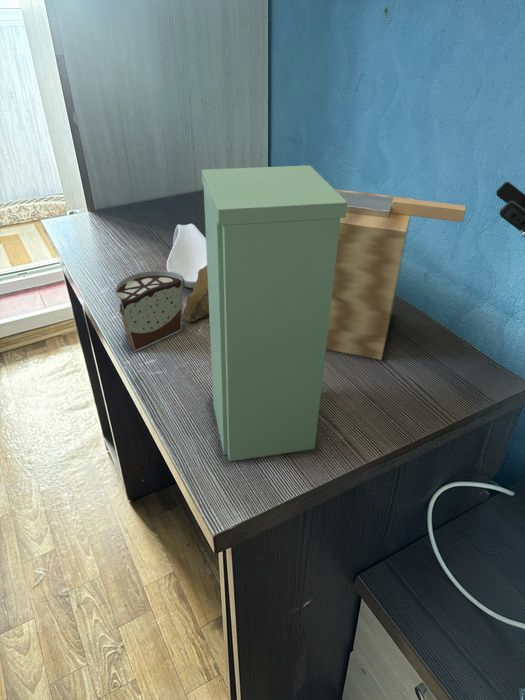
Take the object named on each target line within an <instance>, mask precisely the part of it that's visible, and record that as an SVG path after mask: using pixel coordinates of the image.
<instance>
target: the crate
mask: <svg viewBox="0 0 525 700" xmlns="http://www.w3.org/2000/svg"><path fill="white" fill-rule="evenodd" d="M334 189H335V190H336V191H341V192H349V193H357V194H365V195H374V196H382V197H390V198H394V197H398V198H406V199H414V198H412V197H406V196H405V197H404V196H397V195H387V194H380V193H379V194H378V193H371V192H362V191H356V190H355V191H354V190H345V189H338V188H334ZM411 217H412V216H409V215H401V214H393V213H390V216H389V218H385V217H378V216H370V215H362V214H355V213H347V212H346V218H341V220H340V229H339V238H338V247H337V255H336V264H335V273H334V282H333V291H332V300H331V308H330V317H329V326H328V335H327V344H326V350H329V351H333V352H339V353H342V354H343V353H344V354H349V355H353V356H359V357H364V358H368V359H369V358H370V359H374V360H380V361H382V360H383V357H384V356H383V355H384V351H385V347H386V342H387V337H388V333H389V329H390V324H391V320H392V316H393V311H394V310H393V309H394V305H395V299H396V293H397V290H398V289H397V288H398V284H399V279H400V274H401V268H402V263H403V257H404V253H405V247H406V243H407V237H408V233H409V226H410V223H411Z"/></svg>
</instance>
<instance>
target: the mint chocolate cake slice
mask: <svg viewBox="0 0 525 700" xmlns="http://www.w3.org/2000/svg"><path fill="white" fill-rule="evenodd" d="M185 286H186V284H185V280H184V279H183V276H182V275H180V274H177V273H174V272H169V271H167V270H147V271H140V272H137V273H133V274H131V275H129V276H126V277H124V278H123V279H122V280H120V281H119V282H118V283H117V284H116V286H115V290H114V292H113V307H114V309H115V310H116V312H118V313H119V314H120V316H121V319H122V323H123V327H124V330H125V334H126V337H127V342H128V345H129V348H130V349H131V351H132V352H134V353H137V352H139V351H141V350H144V349H146V348H148V347H150V346H153V345H154V344H156V343H158V342H161V341H164V340H165V339H167V338H169V337H171V336H174V335H176V334H178V333H181V332H183V318H182V315H183V295H184V293H183V292H184V290H183V289H184V287H185Z"/></svg>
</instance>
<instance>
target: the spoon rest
mask: <svg viewBox="0 0 525 700" xmlns="http://www.w3.org/2000/svg"><path fill="white" fill-rule="evenodd" d="M167 257H168V258H167V260H166V271H169V272H174V273H177V274H180V275H182V276H183V279H184V280H185V284H186V286H184V287H185V288H188V289H193V288H194V285H195V283H196V281H197V278H198V272H199V270H200V269H202V268H204V267H205V266H206V265H207V251H206V236H204V234H202V232H201V231H200V230H199V229H198V228H197V226H196V225H195V223H188V224H177V225H176V226H175V229H174V232H173V238H172V247H171V250H170V252H169V254H168V256H167Z"/></svg>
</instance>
